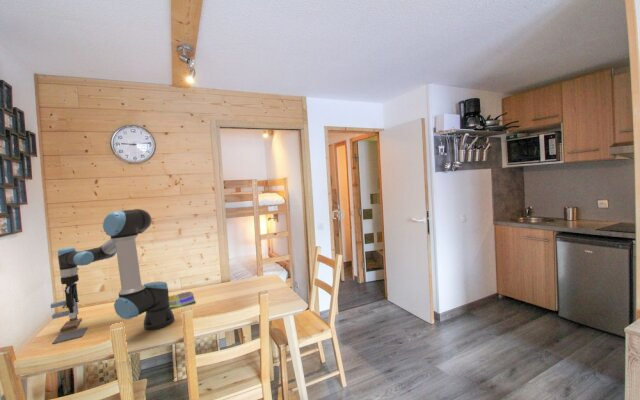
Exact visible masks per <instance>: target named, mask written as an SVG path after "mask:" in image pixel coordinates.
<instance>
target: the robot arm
mask: <svg viewBox="0 0 640 400" xmlns="http://www.w3.org/2000/svg"><path fill="white" fill-rule="evenodd" d="M151 224H152V217H151V215H150V213H149V212H148V211H146V210H144V209H142V208H141V209H140V208H135V209H125V210H116V211H112V212H109V213H108V214H106V216H105V217H104V219H103V222H102V228H103V232H105V235H106V236H108V237H110V238H109V239H108V240H107V241H105V242H104V243H103V244H102V245H100V246H99V247H94V248H90V249H84V250H79V251H76V248H75V247H73V246H72V247H70V246H69V247H64V248H60V249H58V251H57V260H58V266H59V267H58V268H59V276H60V283H61V285H65V288H64V294H65V300H66V305H67V306H66V307H65V308H66V309H67V311H69V315H68V319H72V318H76V315H77V316H78V315H79V312H80V311H79V306H78V305H79V304H78V303H79V302H80V299H79V297H78V296H79V295H78V287H77V285H78V284H77V282H78V281H79V279H80V278H79V277H80V276H79V269H80V268H79V267H78V266H88V265H90V264H91V263H95V262H99V261H103V260H108V259H111V258H113V257H115V256H116V257H117V258H116V259H117V264H118V266H117V267H118V272H119V279H120V286H121V289H120V290H119V292H118V298H117V299H116V300H115V301H114V304H113V308H114V312H115V313H116V314H117V316H119V317H120V318H121V319H123V320H131V319H133V318H137V317H138V316H140V315H142V314H144V313H145V316H144V320H143V322H142V323H143V325H142V326H143V329H144V330H147V331H151V330H152V331H153V330H154V331H155V330H158V329H162V328H165V327H168V326H169V325H171V324H173V323H174V322H175V315H174V313H173V311H172V310H171V309H170V305H169V296H170V295H169V288H168V283H167V282H166V281H152V282H148V283H144V284H142V278H141V271H140V264H139V263H140V262H139V257H138V249H137V243H136V241H137V240H136V238H137V237H138V236H139V234H142V233H144V232H145V231H147V229H148V230H149V227H150V226H151ZM74 298H75V302H76V309H77V313H75V306H74Z"/></svg>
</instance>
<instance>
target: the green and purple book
mask: <svg viewBox="0 0 640 400" xmlns="http://www.w3.org/2000/svg"><path fill="white" fill-rule="evenodd" d="M169 305H170V309H171V311H172V310H177V309H180V308H184V307H188V306H192V305H196V299H195V297H194V293H193V292H192V291H186V292H181V293H177V294H174V295H169Z"/></svg>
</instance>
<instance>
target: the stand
mask: <svg viewBox="0 0 640 400" xmlns="http://www.w3.org/2000/svg"><path fill="white" fill-rule="evenodd" d="M61 307H62V309H65V308H66V307H67V305H64V306H61ZM68 319H69V318H68ZM82 321H83V318H82V317H79V318H78V314H77V315H76V318H72V319H69V320H67V321H66V322H65V323H64V324H63V326H62V327H61V328H60V330H59V331H60V333H65V332H69V331H74V330H78V329H77V328H78V327H79V325H80V324H81V322H82Z"/></svg>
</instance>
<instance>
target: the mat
mask: <svg viewBox="0 0 640 400" xmlns="http://www.w3.org/2000/svg"><path fill="white" fill-rule="evenodd" d="M87 329H88V327H83V328H79V329H73V330H68V331H64V332H60V333H59V334H58V335H57V336H56V338H55V339H54V340H53V342H52V345H56V344H59V343H63V342H67V341H72V340H76V339H79V338H80V339H81V338H83V336H84V334H85V333H86V331H87Z"/></svg>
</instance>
